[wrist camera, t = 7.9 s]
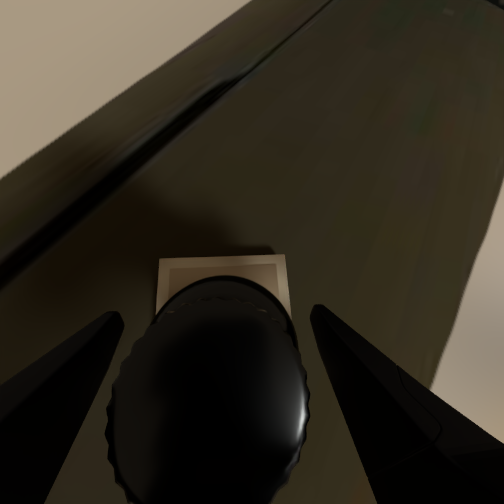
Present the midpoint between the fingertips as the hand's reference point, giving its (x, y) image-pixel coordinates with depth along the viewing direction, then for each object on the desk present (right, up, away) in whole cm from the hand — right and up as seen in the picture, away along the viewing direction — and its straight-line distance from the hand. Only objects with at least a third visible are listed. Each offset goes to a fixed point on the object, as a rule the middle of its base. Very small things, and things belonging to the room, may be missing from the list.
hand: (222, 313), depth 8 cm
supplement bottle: (-1, -4, +7) cm, 8 cm away
